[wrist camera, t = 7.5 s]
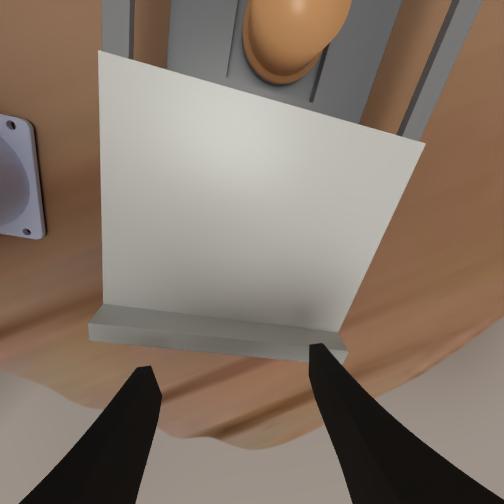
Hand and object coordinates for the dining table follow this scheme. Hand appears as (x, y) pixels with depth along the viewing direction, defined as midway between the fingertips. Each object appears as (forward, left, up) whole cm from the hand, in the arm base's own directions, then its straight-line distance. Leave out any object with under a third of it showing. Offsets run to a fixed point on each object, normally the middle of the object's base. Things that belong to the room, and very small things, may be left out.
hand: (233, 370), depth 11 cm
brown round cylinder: (0, +15, -10) cm, 18 cm away
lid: (0, +5, -4) cm, 7 cm away
